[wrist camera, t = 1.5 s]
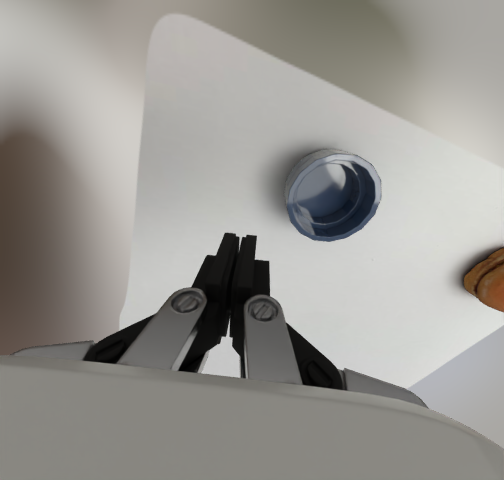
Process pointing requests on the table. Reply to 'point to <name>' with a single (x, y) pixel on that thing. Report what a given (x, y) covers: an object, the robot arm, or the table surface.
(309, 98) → the table surface
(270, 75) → the table surface
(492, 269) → the burger
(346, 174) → the bowl
